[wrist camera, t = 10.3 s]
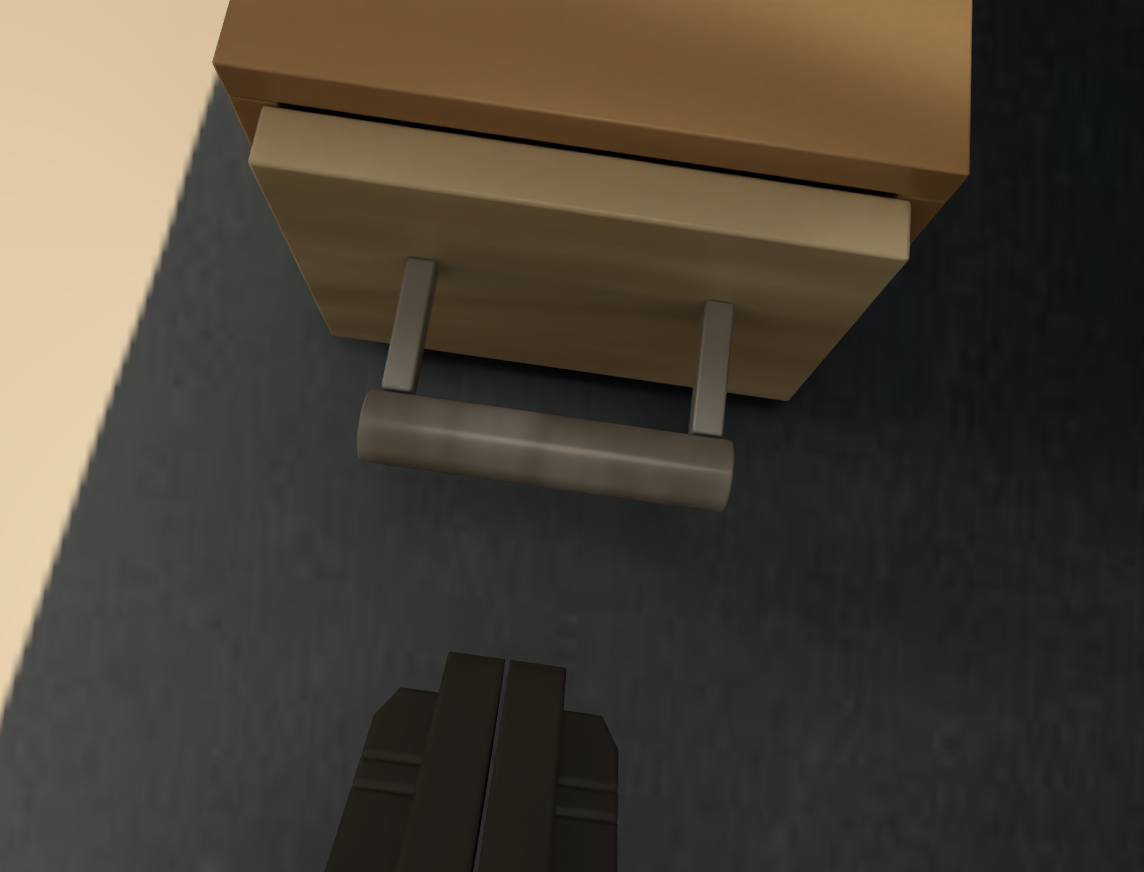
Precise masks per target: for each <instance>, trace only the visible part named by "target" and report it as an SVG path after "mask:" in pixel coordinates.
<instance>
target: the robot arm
mask: <svg viewBox="0 0 1144 872" xmlns="http://www.w3.org/2000/svg"><path fill="white" fill-rule="evenodd" d="M504 665H505V659H498V658H491V657H484V656H478V655H471V654H464V653H457V652H449V654H448V657H447V661H446V665H445V669H444V673H443V677H442V681H441V686H440V690H439V693H436V692H429V691H422V690H415V689H408V688H401V687H400V688H399V689H398V690H397V691H396V692H395V694H394V695H393V696H392V697H391V698H390V699H389V700H388V701H387V702H386V703H385V704H384V705H383V706H382V707H381V708H380V710H379V711H378V712H377V713H376V714H375V715H374V717H373V720H372V723H371V726H370V730H369V733H368V736H367V739H366V742H365V745H364V749H363V753H362V758H360V761H359V764H358V768H357V771H356V774H355V777H354V781H353V786H352V787H351V790H350V793H349V796H348V799H347V803H346V806H345V809H344V812H343V815H342V818H341V822H340V825H339V828H338V831H337V834H336V838H335V841H334V844H333V847H332V850H331V853H330V857H329V860H328V863H327V866H326V869H325V872H473V869H474V863H475V857H476V850H477V844H478V838H479V832H480V825H481V819H482V813H483V807H484V800H485V794H486V788H487V781H488V775H489V768H490V762H491V755H492V748H493V741H494V734H495V728H496V721H497V714H498V707H499V700H500V693H501V686H502V679H503V672H504ZM565 681H566V668H563V667H556V666H549V665H542V664H535V663H528V662H521V661H514V660H510V666H509V672H508V678H507V685H506V691H505V698H504V704H503V711H502V717H501V724H500V730H499V737H498V743H497V750H496V756H495V762H494V769H493V775H492V782H491V788H490V795H489V801H488V808H487V814H486V821H485V827H484V834H483V840H482V846H481V853H480V859H479V866H478V872H617V829H618V824H617V817H618V794H617V789H618V749H617V746H616V744H615V742H614V740H613V738H612V736H611V734H610V732H609V730H608V728H607V725H606V723H605V721H604V719H603V717H602V716H599V715H592V714H585V713H578V712H571V711H564V710H563V706H564V694H565Z"/></svg>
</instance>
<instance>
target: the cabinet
mask: <svg viewBox="0 0 1144 872" xmlns="http://www.w3.org/2000/svg"><path fill="white" fill-rule="evenodd" d="M971 51H972V0H230V2H229V5H228V9H227V12H226V16H225V20H224V23H223V27H222V30H221V33H220V37H219V40H218V44H217V47H216V51H215V55H214V58H213V65H214V68H215V70H216V72H217V74H218V76H219V78H220V80H221V83H222V85H223V87H224V89H225V91H226V93H227V94H228V96H229V99H230V101H231V104H232V106H233V108H234V110H235V112H236V114H237V116H238V119H239V121H240V123H241V125H242V127H243V129H244V132H245V134H246V136H247V138H248V140H249V142H250V144H251V147H252V144H253V140H254V137H255V133H256V129H257V125H258V121H259V118H260V114H261V110H262V108H263V107H264V106H270V107H277V108H283V109H290V110H297V111H304V112H311V113H317V114H324V115H331V116H338V117H344V118H346V115H345V112H348V113H354V114H361V115H368V116H375V117H381V118H388V119H395V120H402V121H409V122H415V123H422V124H429V125H436V126H442V127H449V128H456V129H463V130H469V131H476V132H483V133H490V134H497V135H503V136H510V137H517V138H524V139H530V140H537V141H544V142H551V143H558V144H564V145H571V146H578V147H585V148H591V149H598V150H605V151H612V152H619V153H625V154H632V155H639V156H646V157H652V158H659V159H666V160H673V161H680V162H686V163H693V164H700V165H707V166H713V167H720V168H727V169H734V170H740V171H747V172H754V173H761V174H768V175H774V176H781V177H788V178H795V179H801V180H808V181H815V182H822V183H829V184H835V185H834V186H833V188H832V189H833V190H839V191H846V192H853V193H860V194H866V195H873V196H880V197H887V198H894V199H900V200H907V201H909V202H910V203H911V223H910V245H911V244H912V242H913V241H914V240H915V239H916V238H917V236H918V235H919V234H920V233H921V231H922V230H923V229H924V228H925V227H926V225H927V224H928V223H929V222H930V221H931V219H932V218H933V217H934V216H935V215H936V213H937V212H938V211H939V210H940V209H941V207H942V206H943V205H944V204H945V202H946V200H949V199H950V197H951V196H952V195H953V194H954V193H955V191H956V190H957V189H958V188H959V187H960V185H961V184H962V183H963V182H964V180H965V179H966V178H967V177H968V175H969V164H970V108H971Z"/></svg>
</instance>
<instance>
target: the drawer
mask: <svg viewBox="0 0 1144 872" xmlns="http://www.w3.org/2000/svg"><path fill="white" fill-rule="evenodd" d="M345 115H346V118H344V117H338V116H331V115H324V114H317V113H311V112H304V111H297V110H290V109H283V108H277V107H270V106H264V107H263V108H262V110H261V114H260V118H259V121H258V125H257V129H256V133H255V137H254V140H253V144H252V148H251V152H250V156H249V160H248V162H249V165H250V168H251V170H252V172H253V174H254V176H255V178H256V180H257V182H258V184H259V186H260V188H261V190H262V192H263V194H264V196H265V199H266V201H267V203H268V205H269V207H270V209H271V211H272V213H273V215H274V217H275V219H276V221H277V223H278V225H279V228H280V230H281V232H282V234H283V236H284V238H285V240H286V242H287V244H288V246H289V248H290V250H291V252H292V254H293V256H294V259H295V261H296V263H297V265H298V267H299V269H300V271H301V273H302V275H303V277H304V279H305V281H306V283H307V285H308V288H309V290H310V292H311V294H312V296H313V298H314V300H315V302H316V304H317V306H318V308H319V310H320V312H321V314H322V316H323V319H324V321H325V323H326V325H327V327H328V329H329V331H330V333H331V334H332V335H333V336H340V337H347V338H354V339H361V340H368V341H375V342H382V343H389V344H390V346H389V351H388V356H387V361H386V366H385V371H384V376H383V381H382V388H383V390H377V389H371V390H369V391H368V393H367V395H366V397H365V399H364V402H363V405H362V409H361V413H360V418H359V424H358V433H357V452H358V457H359V459H360V460H361V461H363V462H370V463H377V464H384V465H391V466H398V467H405V468H412V469H419V470H426V471H433V472H440V473H447V474H454V475H461V476H468V477H475V478H482V479H489V480H496V481H503V482H510V483H517V484H524V485H531V486H538V487H545V488H552V489H559V490H566V491H573V492H580V493H587V494H594V495H601V496H608V497H615V498H622V499H629V500H637V501H644V502H651V503H658V504H665V505H672V506H679V507H686V508H693V509H700V510H707V511H714V512H722V511H723V510H724V509H725V507H726V505H727V503H728V500H729V496H730V492H731V488H732V482H733V475H734V465H735V450H734V445H733V442H732V441H730V440H725V439H720V438H721V436H722V434H723V427H724V416H725V405H726V394H727V392H728V393H735V394H742V395H749V396H756V397H763V398H770V399H777V400H784V401H788V400H790V398H791V397H792V396H793V395H794V394H795V392H796V391H797V390H798V389H799V388H800V387H801V385H802V384H803V383H804V382H805V381H806V380H807V378H808V377H809V376H810V375H811V374H812V372H813V371H814V370H815V369H816V368H817V367H818V365H819V364H820V363H821V362H822V361H823V360H824V358H825V357H826V356H827V355H828V354H829V353H830V351H831V350H832V349H833V348H834V347H835V345H836V344H837V343H838V342H839V341H840V340H841V338H842V337H843V336H844V335H845V334H846V333H847V331H848V330H849V329H850V328H851V327H852V326H853V324H854V323H855V322H856V321H857V320H858V318H859V317H860V316H861V315H862V314H863V313H864V311H865V310H866V309H867V308H868V307H869V306H870V304H871V303H872V302H873V301H874V300H875V298H876V297H877V296H878V295H879V294H880V293H881V291H882V290H883V289H884V288H885V287H886V286H887V284H888V283H889V282H890V281H891V280H892V279H893V277H894V276H895V275H896V274H897V273H898V271H899V270H900V269H901V268H902V267H903V266H904V264H905V263H906V262H907V261H908V259H909V251H910V223H911V203H910V202H909V201H907V200H900V199H894V198H887V197H880V196H873V195H866V194H860V193H853V192H846V191H839V190H833V189H832V188H833V186H834V185H835V184H829V183H822V182H815V181H808V180H801V179H795V178H788V177H781V176H774V175H768V174H761V173H754V172H747V171H740V170H734V169H727V168H720V167H713V166H707V165H700V164H693V163H686V162H680V161H673V160H666V159H659V158H652V157H646V156H639V155H632V154H625V153H619V152H612V151H605V150H598V149H591V148H585V147H578V146H571V145H564V144H558V143H551V142H544V141H537V140H530V139H524V138H517V137H510V136H503V135H497V134H490V133H483V132H476V131H469V130H463V129H456V128H449V127H442V126H436V125H429V124H422V123H415V122H409V121H402V120H395V119H388V118H381V117H375V116H368V115H361V114H354V113H348V112H345ZM424 349H430V350H437V351H444V352H451V353H458V354H465V355H472V356H479V357H486V358H493V359H499V360H506V361H513V362H520V363H527V364H534V365H541V366H548V367H555V368H562V369H569V370H576V371H583V372H590V373H597V374H603V375H610V376H617V377H624V378H631V379H638V380H645V381H652V382H659V383H666V384H673V385H680V386H687V387H693V391H692V401H691V411H690V421H689V430H688V434H684V433H677V432H670V431H663V430H656V429H649V428H642V427H635V426H628V425H621V424H614V423H607V422H600V421H593V420H586V419H579V418H572V417H565V416H558V415H551V414H544V413H537V412H530V411H523V410H516V409H509V408H502V407H495V406H488V405H481V404H475V403H468V402H461V401H454V400H447V399H440V398H433V397H426V396H419V395H416V390H417V385H418V379H419V374H420V369H421V363H422V358H423V353H424Z"/></svg>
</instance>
